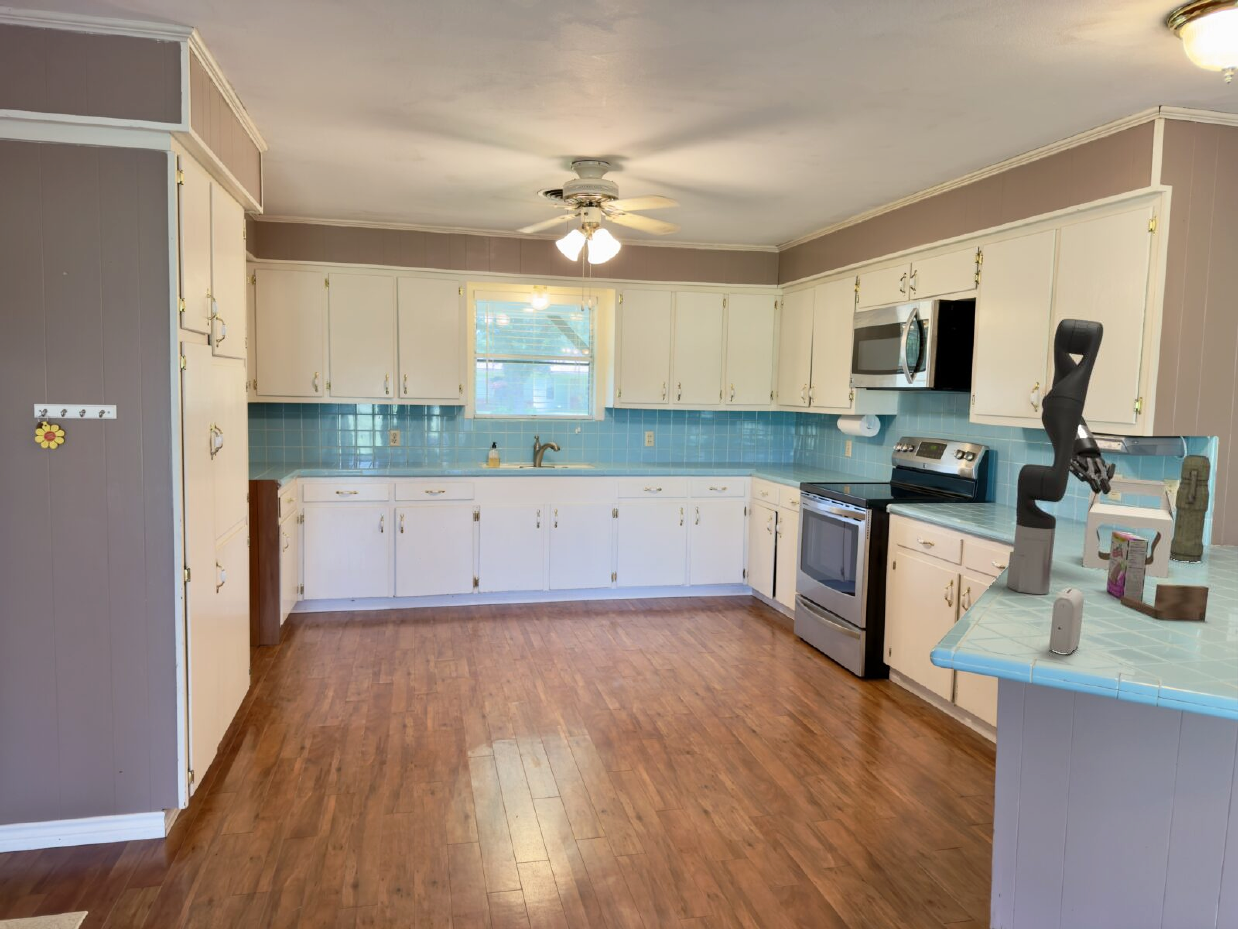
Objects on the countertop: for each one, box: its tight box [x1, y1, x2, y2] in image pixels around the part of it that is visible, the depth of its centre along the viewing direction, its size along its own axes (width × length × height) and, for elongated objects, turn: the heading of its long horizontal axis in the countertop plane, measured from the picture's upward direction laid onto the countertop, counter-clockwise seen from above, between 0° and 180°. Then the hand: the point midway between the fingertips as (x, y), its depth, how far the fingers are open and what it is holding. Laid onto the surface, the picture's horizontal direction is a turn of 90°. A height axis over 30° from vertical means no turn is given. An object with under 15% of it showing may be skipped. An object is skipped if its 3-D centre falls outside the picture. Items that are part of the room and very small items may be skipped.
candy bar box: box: [1106, 531, 1150, 602], centre depth 212 cm, size 11×5×16 cm, turn 168°
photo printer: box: [1048, 587, 1085, 655], centre depth 164 cm, size 10×4×12 cm, turn 140°
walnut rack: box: [1120, 583, 1210, 622], centre depth 198 cm, size 12×14×8 cm
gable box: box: [1082, 476, 1175, 579], centre depth 249 cm, size 22×13×28 cm, turn 60°
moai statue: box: [1169, 454, 1211, 562], centre depth 268 cm, size 9×12×35 cm
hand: (1103, 492), depth 223 cm, fingers closed
